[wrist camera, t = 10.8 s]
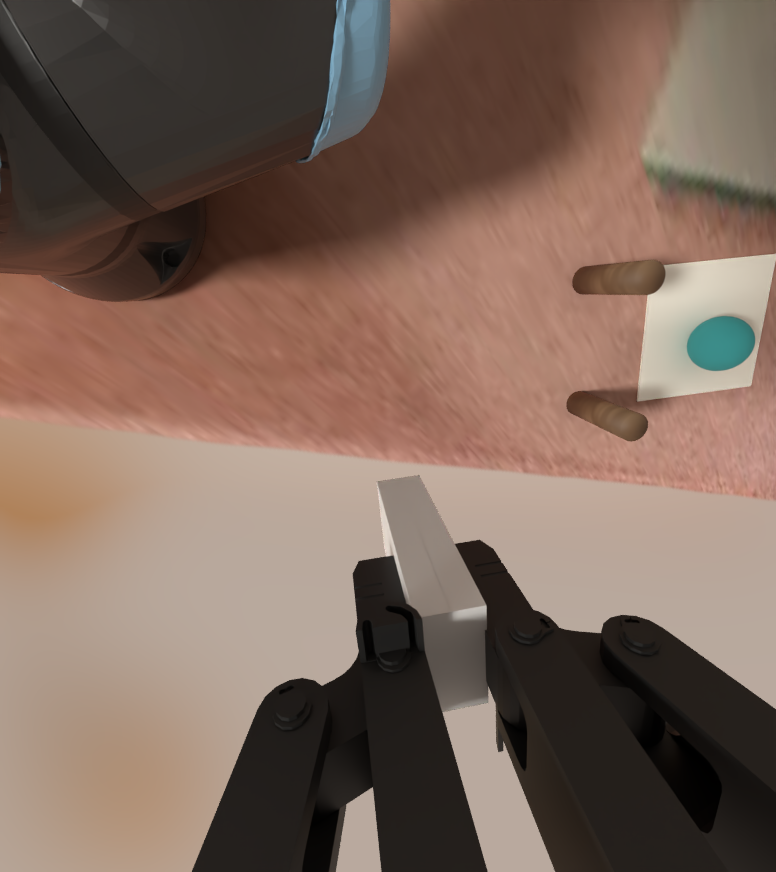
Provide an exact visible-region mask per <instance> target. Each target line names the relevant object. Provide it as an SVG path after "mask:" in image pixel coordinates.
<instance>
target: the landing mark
mask: <svg viewBox="0 0 776 872" xmlns="http://www.w3.org/2000/svg"><path fill="white" fill-rule="evenodd" d="M775 261H776V254H769V255H759V256H749V257H739V258H729V259H719V260H709V261H699V262H689V263H679V264H670V265H663V266H664V268H665V273H666V274H665V280H664V283H663V285H662V286H661V288H660V289H659V290H658V291H656V292H655V293H653V294H650V295H648V297H647V306H646V316H645V325H644V335H643V344H642V354H641V363H640V373H639V382H638V391H637V401H645V400H652V399H660V398H667V397H674V396H682V395H689V394H697V393H704V392H711V391H719V390H726V389H733V388H741V387H748V386H751V384H752V378H753V373H754V368H755V363H756V358H757V353H758V348H759V343H760V338H761V333H762V328H763V322H764V317H765V312H766V307H767V302H768V297H769V292H770V287H771V282H772V277H773V272H774V266H775ZM719 316H732V317H736V318H739V319H742V320H743V321H745V322H746V323H748V324H749V325H750V327H751V328H752V329H753V332H754V334H755V346H754V349H753V351H752V353H751V354H750V356H749V357H748V358H747V359H746V360H745V361H744V362H743V363H741V364H740V365H738V366H736V367H734V368H731V369H728V370H723V371H710V370H706V369H703V368H700V367H699V366H697V365H696V364H694V363H693V362H692V360H691V359H690V357H689V355H688V352H687V342H688V339H689V336H690V335H691V333H692V332H693V330H694V329H695V328H696V327H697V326H698V325H700V324H701V323H703V322H704V321H706V320H709V319H711V318H714V317H719Z"/></svg>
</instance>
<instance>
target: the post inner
mask: <svg viewBox="0 0 776 872" xmlns="http://www.w3.org/2000/svg"><path fill="white" fill-rule="evenodd" d="M665 274H666V273H665V268H664V266H663V264H662V263H661V262H660V261H657V260H646V261H636V262H626V263H616V264H606V265H596V266H586V267H582V268H580V269H579V270H578V271H577V272H576V273H575V275H574V277H573V288H574V290H575V291H576V292H577V293H579V294H607V295H650V294H653V293H655V292H656V291H658V290H659V289H660V288H661V286H662V285H663V283H664V280H665Z"/></svg>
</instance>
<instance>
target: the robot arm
mask: <svg viewBox="0 0 776 872" xmlns="http://www.w3.org/2000/svg"><path fill="white" fill-rule="evenodd" d="M389 43H390V0H0V273H12V274H32V275H41V276H42V277H44V278H45V279H47V280H48V281H50V282H52V283H53V284H55V285H57V286H59V287H61V288H63V289H65V290H67V291H69V292H72V293H74V294H77V295H80V296H83V297H87V298H91V299H95V300H101V301H111V302H122V301H137V300H144V299H148V298H151V297H155V296H157V295H160V294H162V293H164V292H166V291H168V290H169V289H171V288H172V287H174V286H175V285H177V284H178V283H179V282H180V281H181V280H182V279H183V278H184V277H185V276H186V275H187V274H188V272H189V271H190V270H191V268H192V267H193V265H194V264H195V262H196V260H197V258H198V256H199V254H200V251H201V248H202V245H203V241H204V236H205V229H206V209H205V202H204V196H206V195H209V194H211V193H214V192H216V191H219V190H222V189H224V188H227V187H229V186H232V185H234V184H237V183H240V182H242V181H245V180H247V179H250V178H252V177H255V176H257V175H260V174H263V173H265V172H268V171H270V170H273V169H275V168H278V167H281V166H283V165H286V164H288V163H291V162H293V161H296V162H297V163H305V162H308V161H310V160H312V158H313V157H315V156H317V155H318V154H319V152H320V151H322V150H324V149H326V148H328V147H331V146H333V145H335V144H337V143H340V142H342V141H344V140H346V139H348V138H351V137H353V136H355V135H356V134H358V133H359V132H360V131H361V130H362V129H363V128H364V127H365V126H366V124H367V123H368V122H369V121H370V119H371V117H372V116H373V115H374V114H375V112H376V110H377V108H378V105H379V102H380V99H381V96H382V93H383V89H384V84H385V79H386V74H387V67H388V57H389ZM377 487H378V496H379V505H380V514H381V523H382V531H383V540H384V548H385V553H386V557H380V558H374V559H369V560H362V561H359V562H358V564H357V566H356V568H355V570H354V572H353V581H354V591H355V602H356V611H357V626H356V636H357V643H358V649H359V653H358V656H357V659H356V660H355V662H354V663H353V665H352V666H351V667H350V669H349V670H347V671H346V672H345V673H344V674H343V675H341V676H340V677H338V678H336V679H335V680H333V681H331V682H329V683H327V684H325V685H323V686H321V685H320V684H318V683H317V682H316V681H314V680H309V679H304V678H300V679H294V680H289V681H287V682H285V683H283V684H281V685H279V686H277V687H276V688H274V690H272V691H271V692H270V693H269V694H268V695H267V696H266V697H265V698H264V700H263V701H262V703H261V705H260V706H259V708H258V710H257V712H256V715H255V717H254V719H253V722H252V724H251V727H250V729H249V732H248V734H247V737H246V739H245V742H244V744H243V747H242V749H241V752H240V754H239V756H238V759H237V761H236V764H235V767H234V769H233V771H232V774H231V777H230V779H229V781H228V784H227V786H226V789H225V791H224V794H223V796H222V798H221V801H220V803H219V806H218V808H217V811H216V813H215V816H214V819H213V821H212V823H211V826H210V828H209V831H208V833H207V835H206V838H205V840H204V843H203V845H202V848H201V850H200V853H199V855H198V858H197V860H196V863H195V865H194V868H193V870H192V872H336V866H337V860H338V854H339V848H340V842H341V835H342V829H343V823H344V817H345V811H346V804H347V803H349V802H350V801H352V800H353V799H355V798H357V797H358V796H360V795H361V794H363V793H364V792H366V791H367V790H369V789H370V788H372V787H373V791H374V801H375V811H376V821H377V831H378V841H379V851H380V861H381V870H382V872H487V868H486V865H485V861H484V858H483V854H482V851H481V847H480V843H479V840H478V836H477V833H476V830H475V826H474V822H473V819H472V815H471V812H470V808H469V805H468V801H467V798H466V794H465V791H464V787H463V784H462V780H461V777H460V773H459V770H458V766H457V762H456V759H455V755H454V752H453V748H452V745H451V741H450V738H449V734H448V731H447V727H446V724H445V720H444V717H443V713H442V712H445V711H450V710H455V709H460V708H465V707H470V706H475V705H479V704H484V703H488V687H489V689H490V691H491V694H492V696H493V699H494V701H495V703H496V742H497V748H498V752H501V751H503V741H504V743H505V746H506V748H507V751H508V753H509V756H510V758H511V761H512V763H513V766H514V769H515V771H516V774H517V776H518V779H519V781H520V784H521V786H522V789H523V791H524V794H525V796H526V799H527V801H528V804H529V806H530V809H531V811H532V814H533V817H534V819H535V822H536V824H537V827H538V829H539V832H540V834H541V837H542V839H543V842H544V844H545V847H546V849H547V852H548V854H549V857H550V859H551V862H552V864H553V867H554V870H555V872H776V709H775V708H773V707H772V706H770V705H769V704H768V703H766V702H765V701H764V700H762V699H761V698H759V697H758V696H757V695H755V694H754V693H752V692H751V691H750V690H748V689H747V688H745V687H744V686H743V685H741V684H740V683H739V682H737V681H736V680H734V679H733V678H732V677H730V676H729V675H727V674H726V673H725V672H723V671H722V670H721V669H719V668H717V667H716V666H715V665H714V664H712V663H711V662H709V661H708V660H707V659H705V658H704V657H702V656H701V655H699V654H698V653H697V652H696V651H694V650H693V649H691V648H690V647H689V646H687V645H686V644H684V643H683V642H681V641H680V640H679V639H677V638H676V637H675V636H673V635H672V634H670V633H669V632H668V631H666V630H665V629H663V628H662V627H660V626H658V625H657V624H655V623H653V622H651V621H650V620H647V619H643V618H640V617H637V616H628V615H620V616H615V617H611V618H610V619H608V620H607V621H606V622H605V623H604V624H603V628H602V631H601V633H590V632H578V631H571V630H564V629H561V628H559V627H558V626H557V624H556V623H555V622H554V621H553V620H552V619H551V618H550V617H548V616H546V615H544V614H542V613H540V612H539V611H535V610H533V609H532V607H531V606H530V604H529V603H528V601H527V600H526V598H525V597H524V595H523V593H522V592H521V590H520V589H519V587H518V586H517V584H516V583H515V581H514V580H513V578H512V577H511V575H510V574H509V573H508V572H507V569H506V568H505V566H504V565H503V563H501V560H500V558H499V557H498V555H497V554H496V552H495V551H494V549H493V548H491V547H489V546H488V545H486V544H485V543H483V542H482V541H481V540H476V541H470V542H464V543H458V544H454V542H453V540H452V538H451V536H450V534H449V532H448V530H447V528H446V526H445V524H444V522H443V520H442V518H441V517H440V515H439V513H438V511H437V509H436V507H435V505H434V503H433V501H432V499H431V497H430V495H429V494H428V492H427V490H426V488H425V486H424V484H423V482H422V480H421V478H420V476H419V475H418V476H411V477H404V478H397V479H391V480H384V481H378V482H377Z"/></svg>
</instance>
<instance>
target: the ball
mask: <svg viewBox="0 0 776 872" xmlns="http://www.w3.org/2000/svg"><path fill="white" fill-rule="evenodd" d="M754 346H755V334H754V332H753V329H752V328H751V327H750V325H749V324H748V323H746V322H745V321H743V320H742V319H739V318H736V317H732V316H719V317H714V318H711V319H709V320H706V321H704V322H703V323H701V324H700V325H698V326H697V327H696V328H695V329H694V330H693V332H692V333H691V335H690V336H689V339H688V342H687V352H688V355H689V357H690V359H691V360H692V362H693V363H694V364H696V365H697V366H699V367H700V368H703V369H706V370H710V371H723V370H728V369H731V368H734V367H736V366H738V365H740V364H741V363H743V362H744V361H745V360H746V359H747V358H748V357H749V356H750V354H751V353H752V351H753V349H754Z"/></svg>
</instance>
